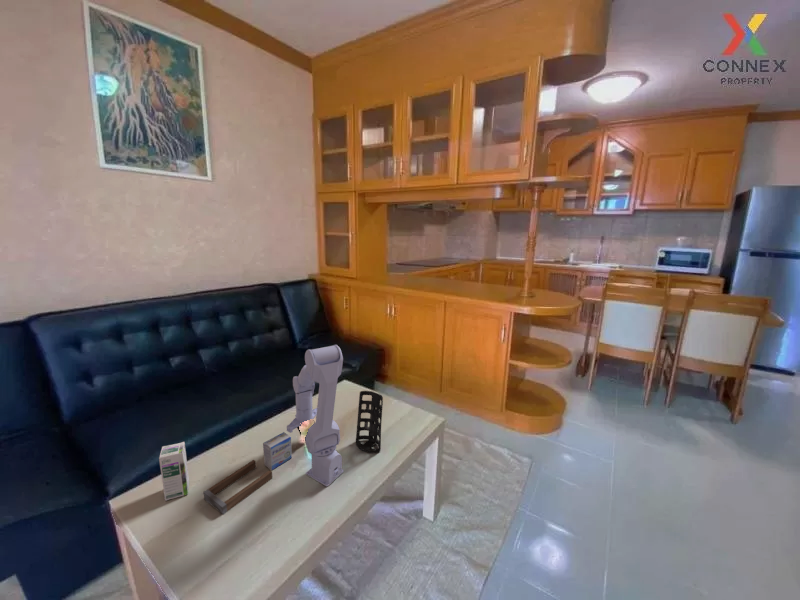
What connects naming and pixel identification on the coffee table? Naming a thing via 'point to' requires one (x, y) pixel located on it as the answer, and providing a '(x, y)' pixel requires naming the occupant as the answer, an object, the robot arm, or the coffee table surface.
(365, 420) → the holder
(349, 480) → the coffee table surface
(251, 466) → the open rail bay
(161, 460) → the syrup box
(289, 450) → the medicine box
